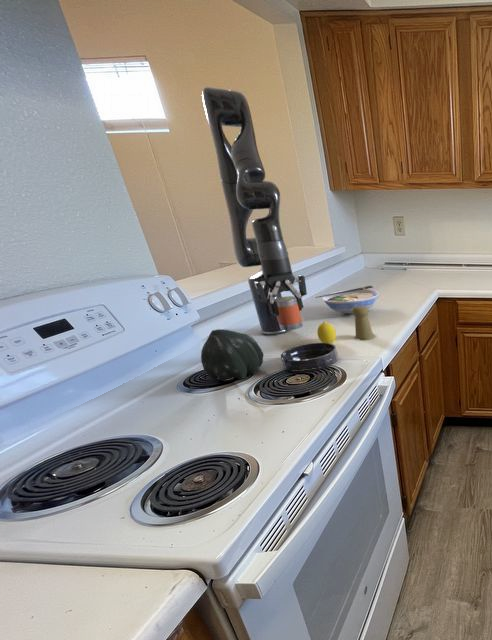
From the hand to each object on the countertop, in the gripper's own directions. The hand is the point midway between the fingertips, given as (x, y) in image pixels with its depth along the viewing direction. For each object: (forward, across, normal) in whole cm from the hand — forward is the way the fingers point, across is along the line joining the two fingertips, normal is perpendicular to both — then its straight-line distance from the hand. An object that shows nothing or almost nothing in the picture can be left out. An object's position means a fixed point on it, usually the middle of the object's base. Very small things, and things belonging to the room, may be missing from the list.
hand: (287, 312), depth 128 cm
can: (+5, 0, 0) cm, 5 cm away
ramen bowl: (+13, -36, -31) cm, 49 cm away
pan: (+13, +1, +13) cm, 19 cm away
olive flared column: (+14, -22, +3) cm, 26 cm away
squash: (+14, +19, +5) cm, 24 cm away
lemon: (+14, -10, +1) cm, 17 cm away
